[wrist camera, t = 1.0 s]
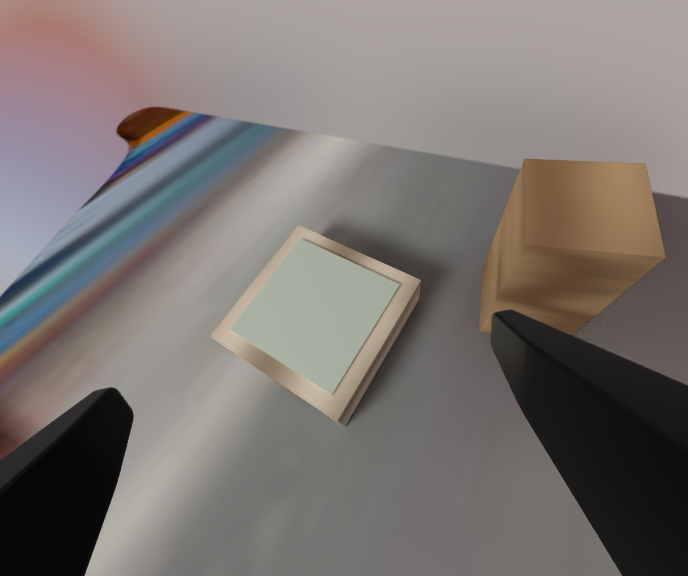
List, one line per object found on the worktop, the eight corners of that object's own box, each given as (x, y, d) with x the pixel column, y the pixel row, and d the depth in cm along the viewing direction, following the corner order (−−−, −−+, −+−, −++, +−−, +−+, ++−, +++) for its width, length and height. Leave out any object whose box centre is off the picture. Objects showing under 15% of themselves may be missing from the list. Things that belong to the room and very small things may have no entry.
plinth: (419, 299, 25) (421, 278, 22) (344, 427, 22) (336, 420, 19) (307, 246, 29) (297, 223, 26) (228, 349, 25) (208, 335, 23)
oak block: (558, 275, 24) (645, 163, 16) (562, 342, 22) (665, 257, 14) (482, 267, 26) (524, 158, 17) (479, 331, 23) (525, 244, 15)
